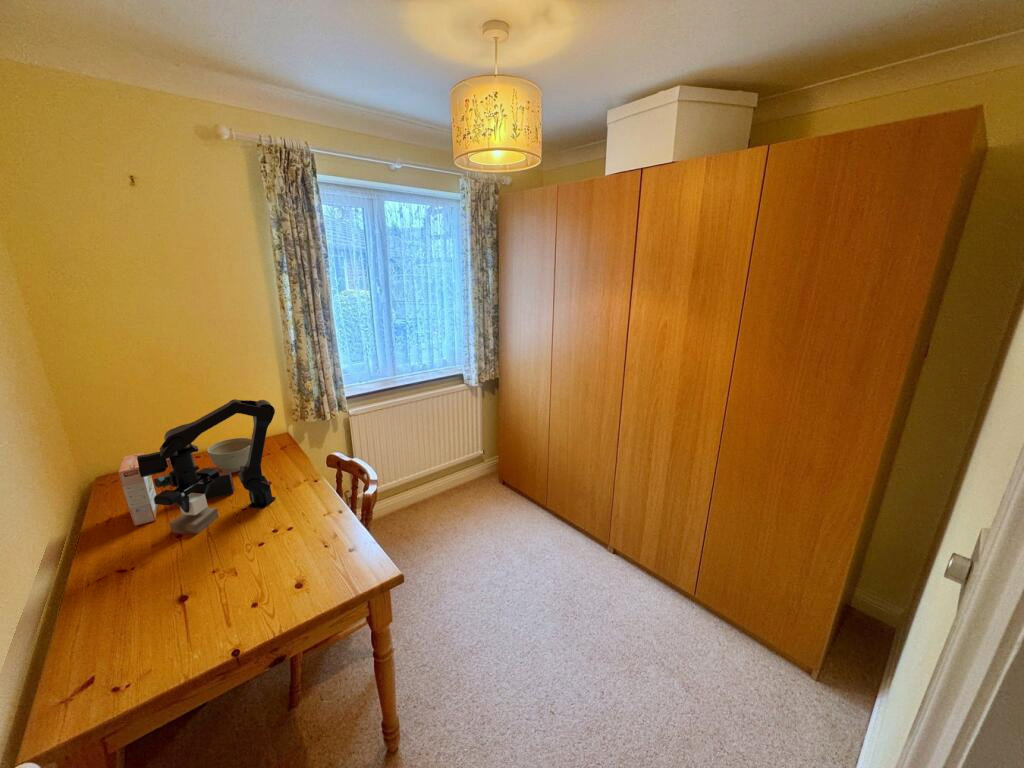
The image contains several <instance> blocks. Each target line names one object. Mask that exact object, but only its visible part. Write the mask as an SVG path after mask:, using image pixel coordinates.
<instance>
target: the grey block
mask: <svg viewBox="0 0 1024 768" xmlns="http://www.w3.org/2000/svg"><path fill="white" fill-rule="evenodd" d="M219 518H220V516H219V512H218V508H217V507H207V508H205V509H204V510H202V511H201V512H199V513H198V514H196V515H186V514H182V513H181V514H180V515H179V516H178V517H177V518H175V519H174V520H172V521H171V522H169V526H170V530H171V533H172V534H190V535H193V534H194V535H199V534H200V533H201V532H203V531H204V530H206V529H207V528H208V527H209V526H210V525H212V524H213V522H215V521H216V520H218V519H219Z"/></svg>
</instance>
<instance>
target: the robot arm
mask: <svg viewBox="0 0 1024 768" xmlns="http://www.w3.org/2000/svg"><path fill="white" fill-rule="evenodd" d="M275 413H276V409H275V407H274V406H273V405H272V404H271V403H270V402H269V401H267V400H265V399H259V400H248V399H247V400H245V399H244V400H243V399H237V398H235V399H234V398H233V399H231V400H229V401H228V402H227V403H225V404H224V405H221V406H220V407H218V408H216V409H214V410H212V411H210V412H209V413H207V414H205V415H204V416H201V417H200V418H198V419H196V420H194V421H192V422H189V423H185V424H181V425H178V426H176V427H174V428H173V427H172V428H171V429H168V431H166V432H165V434H164V437H163V439H164V441H163V443H162V445H161V446H160V448H159V451H157V452H156V451H155V452H151V453H147V454H145V455H140V456H137V461H138V465H139V473H140V476H141V478H142V477H146V476H150V475H151V476H154V475H157V474H158V475H159V474H161V473H166V471H167V469H168V468H169V467H171V471H169V473H168V474H166V475H164V476H163V475H160V476H157V477H156V478H154V479H153V485H154V487H156V488H157V489H160V488H166V487H169V486H170V487H171V488H175V489H174V490H170V489H165V490H163V491H162V492H159V493H157V494H156V496H155V497H154V502H155V504H158V506H168V507H169V506H173V505H175V504H176V505H177V506H178V507H179V508H180V507H181V508H182V509H183V511H184V512H186V513H188V512H189V496H186V495H185V494H184V491H186V490H187V489H189V488H191V487H192V486H193V487H194V488H195V491H196V493H200V494H205V496H206V493H207V491H208V488H209V486H210V484H211V483H212V481H210V480H208V477H209V478H210V479H213V480H214V479H215V478H217V477H218V476H220V475H219V473H220V470H218V469H217V468H211V467H209V468H207V467H203V468H201V469H200V466H199V465H196V464H195V460H194V457H193V456H194V455H193V453H197V452H199V447H198V446H197V445H194V444H193V443H194V442H195V441H196V439H197V438H198V437H199V436H200V435H202V434H203V433H205V432H206V431H208V430H210V429H212V428H213V427H215V426H217V425H219V424H221V423H222V422H224V421H226V420H228V419H229V418H231V417H233V416H234V415H236V414H238V415H239V414H240V415H244V416H249V417H252V422H253V428H252V433H251V438H250V439H251V444H250V450H249V456H248V461H247V463H246V465H245V466H240V471H239V473H238V475H237V476H238V479H239V482H240V483H241V484H242V486H243V488H244V489H245V490H247V491H248V495H249V496H248V497H249V500H250V503H249V504H248V508H259V509H260V508H261V509H264V508H267V506H269V505H270V504H272V502H274V501H275V500H276V499H277V498H276V496H273V494H272V489H271V484H270V483H269V480H268V479H267V477H266V476H265V475H263V472H262V466H261V465H262V460H263V454H264V449H265V444H266V437H267V432H268V428H269V426H270V425H271V424H272V421H273V418H274V416H275ZM168 459H169V462H170V466H169V463H168ZM176 486H177V488H176Z"/></svg>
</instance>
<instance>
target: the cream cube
mask: <svg viewBox="0 0 1024 768" xmlns="http://www.w3.org/2000/svg"><path fill="white" fill-rule="evenodd" d="M187 496H189V512H188V513H186V512H184V511H183V509H182V508H181V507H180V506H179V511H180V513H181V515H182V514H186V515H196V514H198V513H199V512H201V511H202V510H204V509H205V508H209V505H208V502H207V499H206V497H205V494H200V493H190V494H189V495H187Z"/></svg>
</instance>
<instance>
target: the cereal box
mask: <svg viewBox="0 0 1024 768" xmlns="http://www.w3.org/2000/svg"><path fill="white" fill-rule="evenodd" d="M140 455H146V453H145V452H140V453H135V454H130V455H125V456H123V458H122V462H121V464H120V467H119V470H118V475H119V479H120V482H121V486H122V490H123V492H124V496H125V499H126V502H127V505H128V509H129V513H130V517H131V519H132V523H133V525H134V527H137V526H140V525H144V524H148V523H151V522H155V521H156V519H157V512H158V506H159V505H158V504H155V502H154V497H155V496H156V495H157V493H156V489H155V484H154V480H153V477H152V475H150V476H146V477H142V478H141V476H140V473H139V465H138V461H137V456H140Z"/></svg>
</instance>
